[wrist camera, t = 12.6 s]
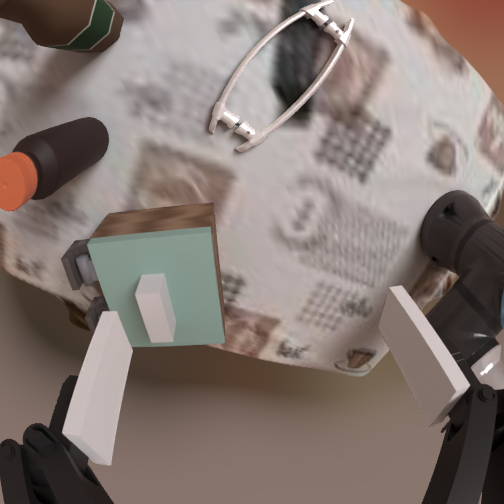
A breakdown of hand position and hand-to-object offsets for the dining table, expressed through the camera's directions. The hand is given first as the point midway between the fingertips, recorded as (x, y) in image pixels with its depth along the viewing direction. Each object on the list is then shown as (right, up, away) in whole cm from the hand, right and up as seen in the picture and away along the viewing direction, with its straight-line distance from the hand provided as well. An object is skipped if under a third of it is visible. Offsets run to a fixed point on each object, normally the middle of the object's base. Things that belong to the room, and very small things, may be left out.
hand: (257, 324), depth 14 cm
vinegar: (-23, +19, +22) cm, 37 cm away
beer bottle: (-21, +33, +14) cm, 42 cm away
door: (-14, -2, +26) cm, 30 cm away
